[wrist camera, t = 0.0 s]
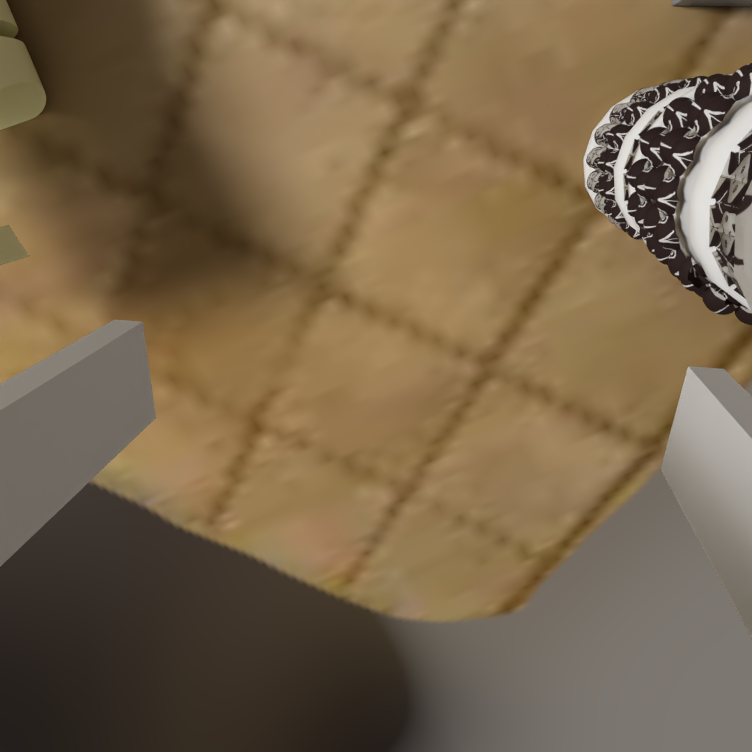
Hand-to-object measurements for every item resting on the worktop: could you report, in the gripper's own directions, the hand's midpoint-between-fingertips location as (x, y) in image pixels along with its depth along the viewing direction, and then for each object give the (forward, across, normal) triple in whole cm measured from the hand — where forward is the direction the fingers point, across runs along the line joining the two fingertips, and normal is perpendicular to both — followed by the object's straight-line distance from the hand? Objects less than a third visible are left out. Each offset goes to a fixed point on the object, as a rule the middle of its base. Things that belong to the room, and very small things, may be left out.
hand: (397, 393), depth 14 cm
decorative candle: (+28, +13, +4) cm, 31 cm away
